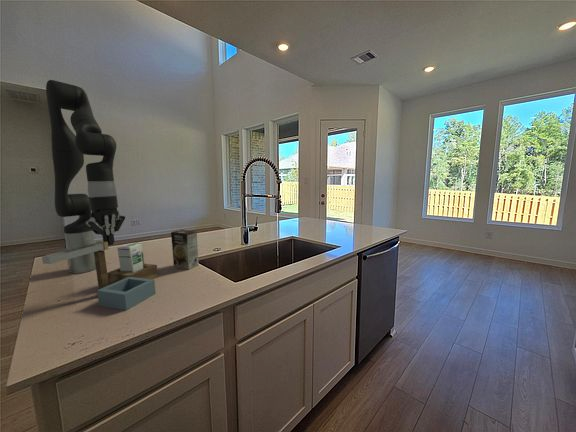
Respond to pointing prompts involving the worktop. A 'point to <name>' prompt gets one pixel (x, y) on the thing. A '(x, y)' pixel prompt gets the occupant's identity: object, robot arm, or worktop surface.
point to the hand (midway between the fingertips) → (109, 245)
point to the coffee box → (185, 249)
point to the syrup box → (131, 257)
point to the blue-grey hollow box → (126, 293)
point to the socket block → (119, 271)
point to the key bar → (74, 252)
